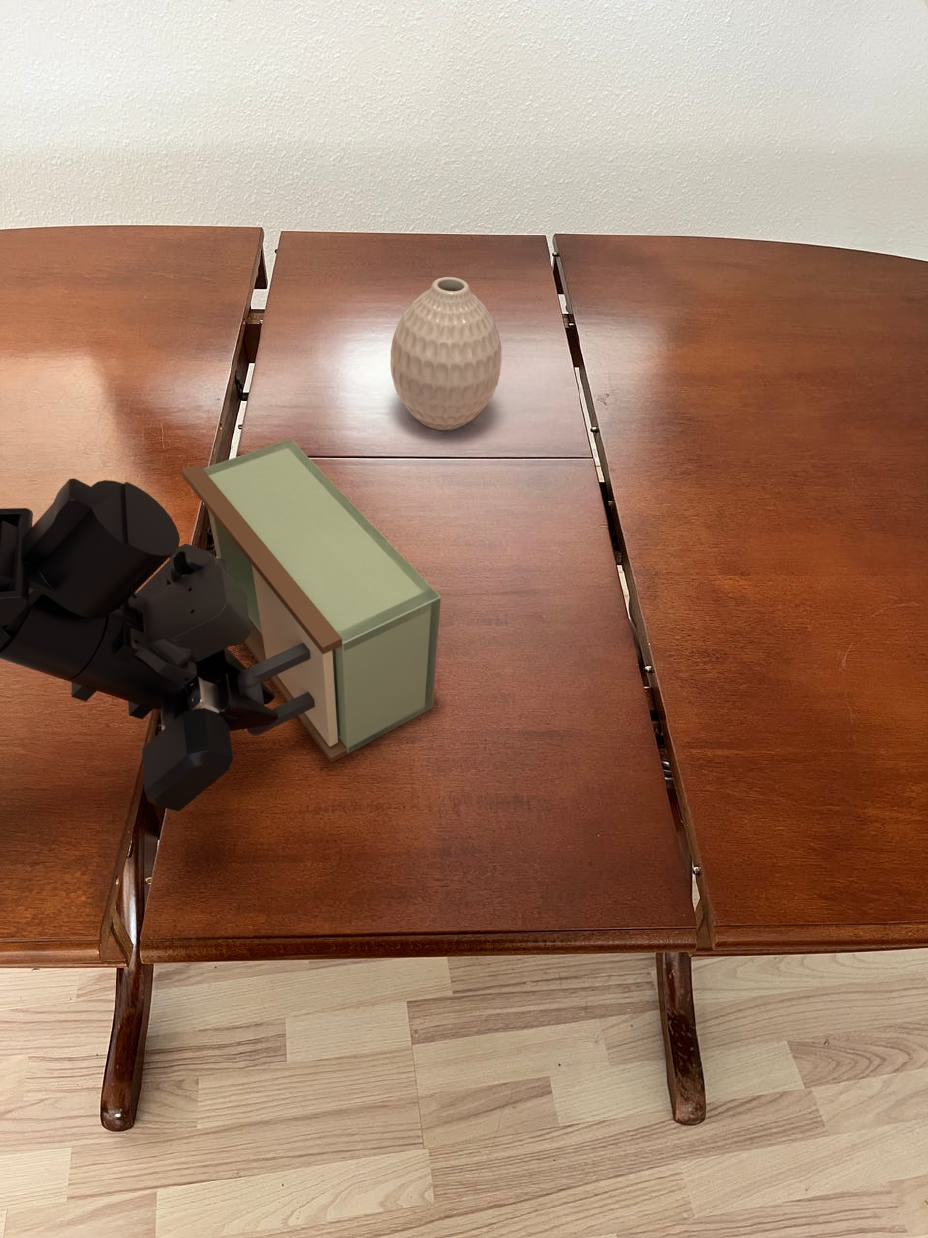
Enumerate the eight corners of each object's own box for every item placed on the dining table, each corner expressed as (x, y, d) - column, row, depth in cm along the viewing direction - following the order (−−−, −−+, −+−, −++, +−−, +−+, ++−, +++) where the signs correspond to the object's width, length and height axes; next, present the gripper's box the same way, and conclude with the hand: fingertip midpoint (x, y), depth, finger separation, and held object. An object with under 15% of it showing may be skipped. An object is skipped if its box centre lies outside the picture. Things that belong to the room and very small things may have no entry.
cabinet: (330, 763, 70) (322, 647, 59) (206, 592, 82) (180, 469, 71) (432, 708, 75) (441, 591, 64) (301, 553, 87) (290, 432, 76)
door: (267, 780, 67) (250, 682, 58) (206, 687, 73) (181, 585, 64) (338, 742, 70) (332, 643, 61) (274, 656, 76) (259, 553, 67)
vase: (486, 454, 100) (501, 321, 88) (378, 437, 101) (378, 303, 88) (501, 395, 109) (516, 266, 96) (402, 379, 109) (405, 250, 97)
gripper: (168, 678, 46) (372, 753, 57) (151, 466, 58) (322, 561, 68) (51, 786, 50) (263, 837, 60) (58, 567, 62) (234, 642, 72)
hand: (273, 709), depth 65 cm, fingers closed on door, 2 cm apart
